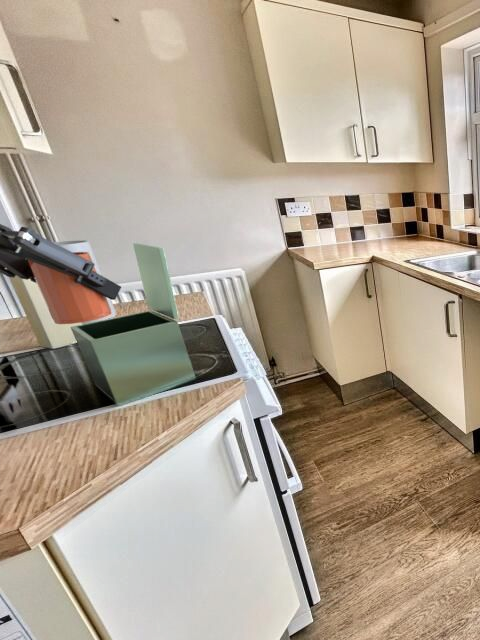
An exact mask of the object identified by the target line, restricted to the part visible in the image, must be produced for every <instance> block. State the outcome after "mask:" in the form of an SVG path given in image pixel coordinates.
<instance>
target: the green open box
mask: <svg viewBox="0 0 480 640" xmlns="http://www.w3.org/2000/svg"><path fill="white" fill-rule="evenodd" d="M178 322H179V321H177V320H176V319H172V318H170V317H168V316H165V315H163V314H161V313H158V312H156V311H154V310H151V309H149V310H146V311H141V312H136V313H131V314H126V315H122V316H117V317H116V318H111V319H106V320H102V321H97V322H92V323H87V324H82V325H77V326H73V327H71V330H72V332H73V334H74V337H75V339H76V341H77V343H76V344H77V346H78V348H79V351H80V353H81V355H82V358H83V360H84V362H85V365H86V367H87V369H88V372H89V373H90V377H91V378H92V381H93V383H94V385H95V387H96V388H97V389H98V390H99V391H100V392H101V393H102V394H104V396H105V397H107V398H108V399H109V400H110V401H111V402H112V403H114V404H115V406H117V407H121V406H123V405H127V404H130V403H133V402H136V401H139V400H142V399H145V398H148V397H151V396H153V395H156V394H160V393H162V392H167V391H169V390H172V389H176V388H177V387H180V386H184V385H187V384H189V383H190V384H191V383H193V382H196V381H198V379H197V376H196V374H195V370H194V368H193V364H192V361H191V358H190V355H189V352H188V350H187V347H186V344H185V341H184V337H183V334H182V332H181V328H180V325H179V323H178Z"/></svg>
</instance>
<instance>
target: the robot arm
mask: <svg viewBox="0 0 480 640" xmlns="http://www.w3.org/2000/svg"><path fill="white" fill-rule="evenodd" d="M18 249H19V250H18ZM26 259H27V260H30V261H32V262H35V263H37V264H40V265H43V266H45V267H48V268H50V269H53V270H56V271H58V272H61V273H63V274H66V275H69V276H71V277H74V278H75V280H74V282H75V283H80V284H82V285H84V286H86V287H88V288H90V289H92V290H94V291H95V292H97V293H99V294H101V295H103V296H105V297H107V298H109V299H111V301H113V300H115V301H116V299H117V298H118V295H119V293H120V291H121V288H122V285H119V284H117V283H115V281H112V280H110V279H109V278H107V277H105V276H103V275H102V274H101V275H102V276H101V275H99V274H98V273H96V272H94V271H92V269H93V267H94V265H95V264H94V263H92V262H90V261H88V260H86V259H84V258H82V257H80V256H79V255H77V254H75V253H73V252H71V251H69V250H67V249H65V248H63V247H61V246H59V245H57V244H55V243H53V241H51V240H49V239H47V238H45V237H43V236H41V235H40V234H39V233H37V232H36V231H34V230H32V229H31V228H29V227H26V226H21V227H20V228H19V230H12V228H11V227H8V226H6V225H3V224H1V223H0V274H2V275H4V276H6V277H8V278H9V277H13V278H14V277H15V276H16V275H17V276H18V277H20V278H22V279H27V280H28V279H31V280H30V281H32V282H35V283H36V281H35V278H34V276H33V274H32V272H31V269H30V267H29V265H28V262H27V260H26Z"/></svg>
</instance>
